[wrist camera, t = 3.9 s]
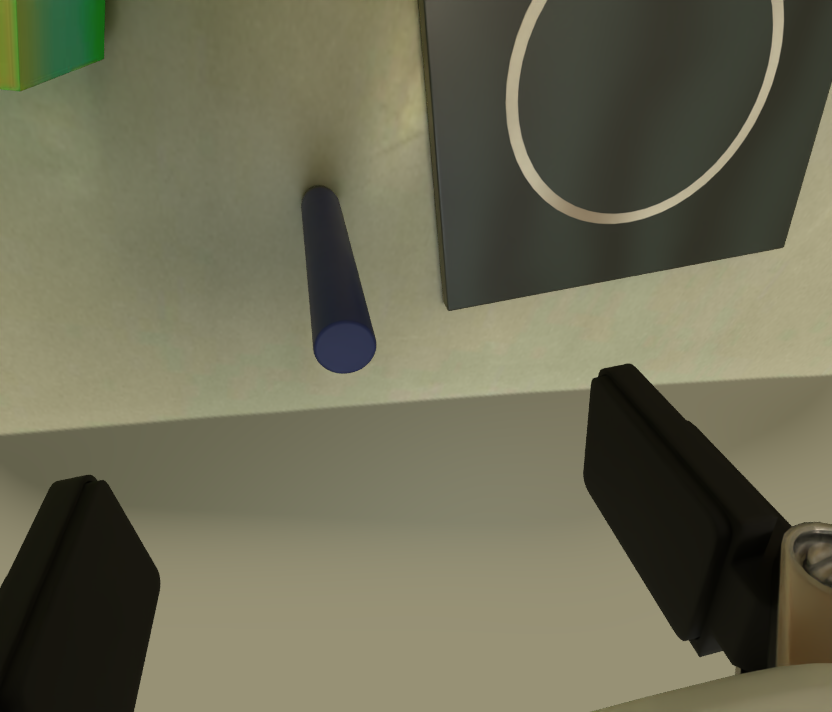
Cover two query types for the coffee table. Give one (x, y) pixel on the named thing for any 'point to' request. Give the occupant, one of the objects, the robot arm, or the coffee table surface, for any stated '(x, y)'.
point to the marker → (334, 287)
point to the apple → (48, 39)
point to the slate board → (615, 135)
